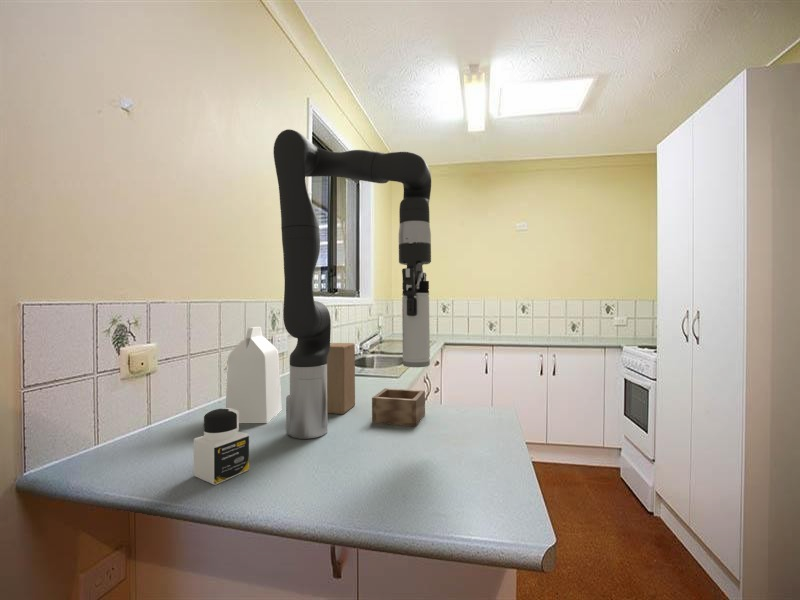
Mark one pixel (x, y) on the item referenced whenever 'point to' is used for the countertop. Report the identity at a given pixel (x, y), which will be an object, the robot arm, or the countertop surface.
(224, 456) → the medicine bottle
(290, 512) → the countertop surface
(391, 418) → the open wooden box
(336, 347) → the wooden block
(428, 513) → the countertop surface
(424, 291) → the travel mug
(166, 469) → the countertop surface
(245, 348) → the milk
